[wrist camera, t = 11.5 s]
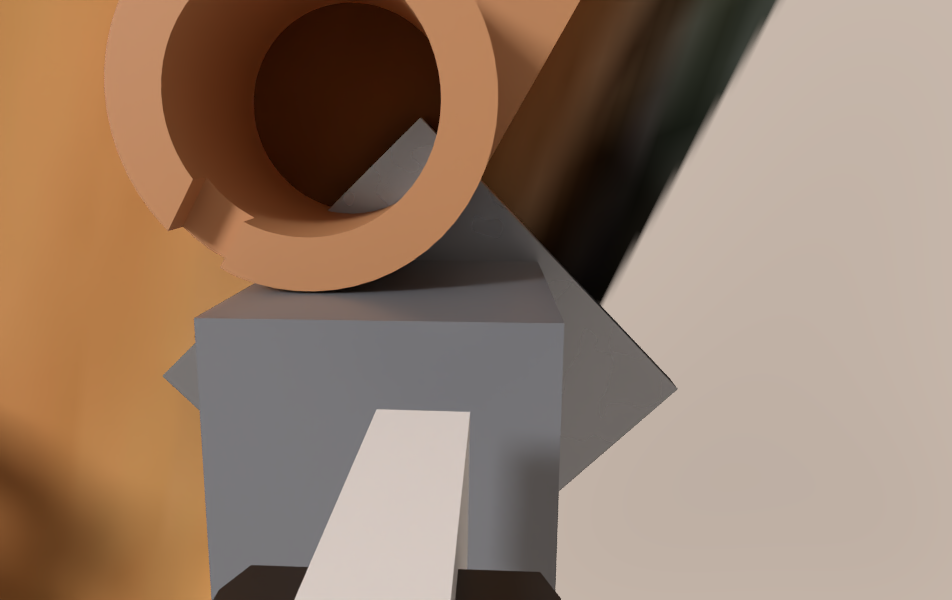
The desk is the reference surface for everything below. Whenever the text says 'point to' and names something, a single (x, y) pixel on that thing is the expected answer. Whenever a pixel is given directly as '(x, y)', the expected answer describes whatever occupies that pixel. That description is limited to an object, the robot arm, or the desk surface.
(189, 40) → the bracket
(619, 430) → the shaft base
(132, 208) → the desk surface
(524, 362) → the squarish grey box
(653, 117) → the desk surface
